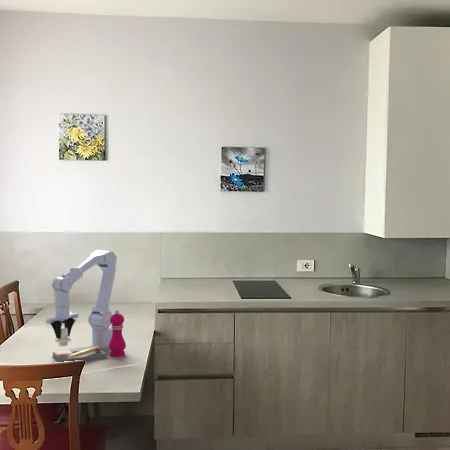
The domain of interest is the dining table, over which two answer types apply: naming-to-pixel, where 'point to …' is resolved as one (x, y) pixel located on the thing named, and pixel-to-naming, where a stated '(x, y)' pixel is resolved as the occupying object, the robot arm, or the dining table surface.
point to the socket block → (63, 356)
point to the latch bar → (84, 352)
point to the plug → (63, 337)
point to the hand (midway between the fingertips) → (62, 337)
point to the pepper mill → (117, 335)
